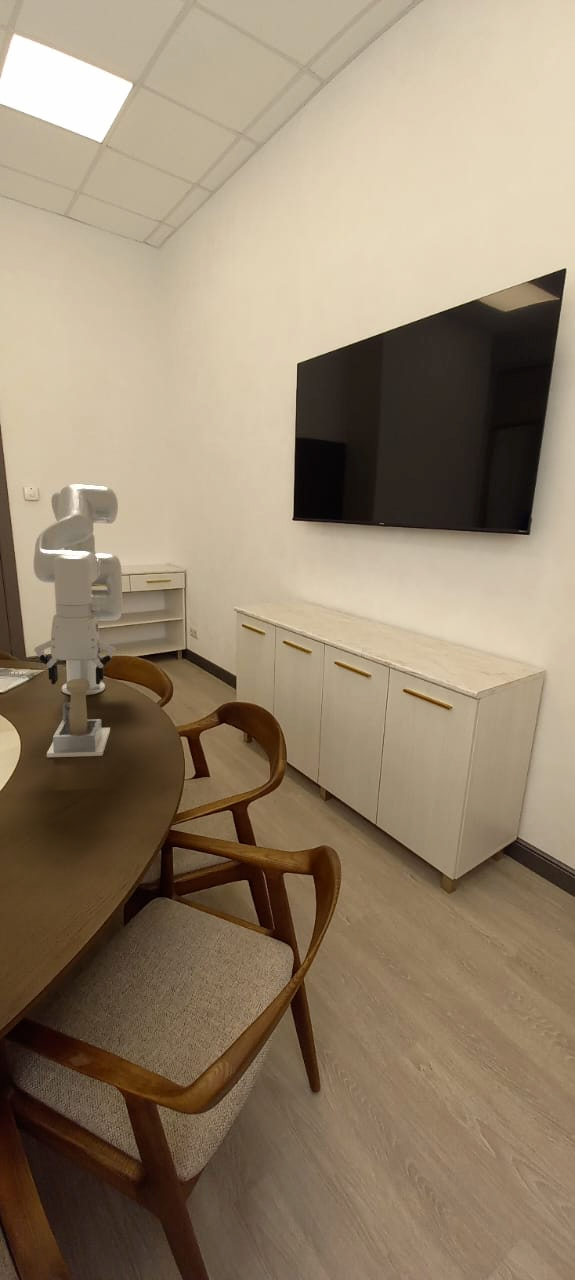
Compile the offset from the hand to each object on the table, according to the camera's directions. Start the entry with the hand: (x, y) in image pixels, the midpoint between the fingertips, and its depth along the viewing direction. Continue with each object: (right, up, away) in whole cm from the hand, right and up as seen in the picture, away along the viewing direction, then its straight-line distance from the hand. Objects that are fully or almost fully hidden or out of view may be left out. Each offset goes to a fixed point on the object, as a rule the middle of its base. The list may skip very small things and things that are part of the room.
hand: (76, 682), depth 120 cm
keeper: (-1, -15, +5) cm, 16 cm away
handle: (-1, -15, +3) cm, 15 cm away
